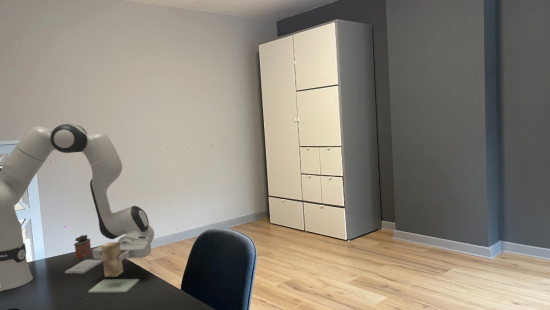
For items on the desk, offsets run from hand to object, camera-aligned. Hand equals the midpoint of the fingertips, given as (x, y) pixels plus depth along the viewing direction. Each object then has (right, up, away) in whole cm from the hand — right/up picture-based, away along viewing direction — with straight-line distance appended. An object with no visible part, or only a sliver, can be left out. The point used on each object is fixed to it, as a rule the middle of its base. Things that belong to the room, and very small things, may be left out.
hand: (110, 258), depth 147 cm
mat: (+1, -10, +2) cm, 11 cm away
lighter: (-26, -9, +36) cm, 46 cm away
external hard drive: (-20, -10, +24) cm, 33 cm away
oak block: (+1, -6, +1) cm, 6 cm away
